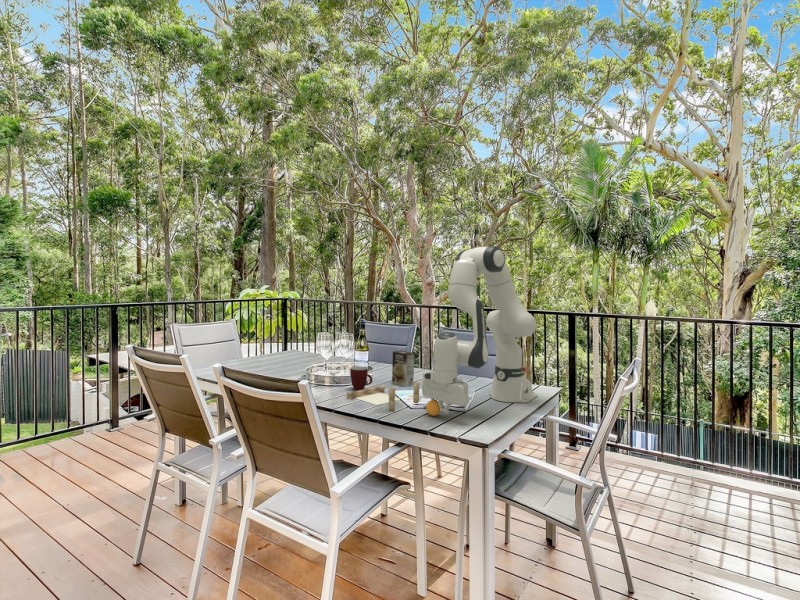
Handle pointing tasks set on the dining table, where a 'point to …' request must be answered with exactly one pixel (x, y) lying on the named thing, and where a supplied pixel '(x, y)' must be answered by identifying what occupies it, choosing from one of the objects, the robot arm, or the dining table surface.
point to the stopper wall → (365, 392)
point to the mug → (359, 377)
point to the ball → (433, 407)
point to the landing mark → (376, 398)
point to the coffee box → (403, 368)
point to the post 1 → (391, 399)
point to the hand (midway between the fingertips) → (444, 412)
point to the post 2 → (416, 392)
